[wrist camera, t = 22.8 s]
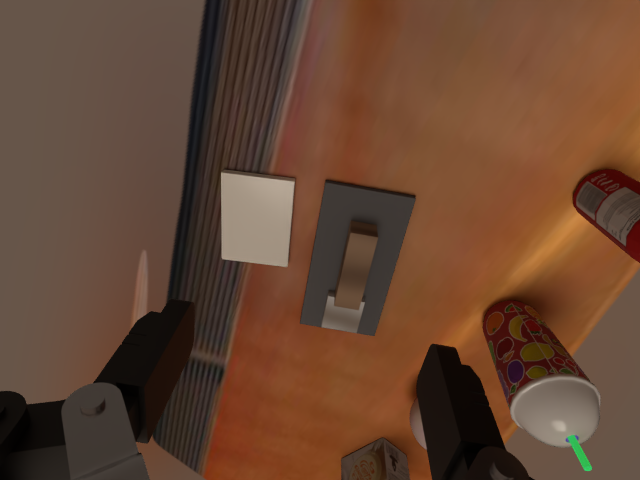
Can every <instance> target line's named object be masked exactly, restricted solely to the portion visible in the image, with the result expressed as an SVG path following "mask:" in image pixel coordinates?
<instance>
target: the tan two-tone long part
mask: <svg viewBox="0 0 640 480" xmlns="http://www.w3.org/2000/svg"><path fill="white" fill-rule="evenodd" d="M377 241H378V232H377V225H373V224H367V223H362V222H356V221H350V226H349V230H348V235H347V239H346V244H345V248H344V253H343V257H342V261H341V266H340V270H339V275H338V279H337V284H336V288H335V291H330V290H328V295H327V300H326V304H325V309H324V314H323V318H322V326H321V327H324V328H330V329H336V330H342V331H348V332H354V333H357V330H358V326H359V322H360V319H361V315H362V311H363V308H364V304H365V296H363V293H364V289H365V286H366V282H367V278H368V274H369V271H370V267H371V263H372V259H373V256H374V252H375V248H376V244H377Z"/></svg>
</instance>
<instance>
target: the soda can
mask: <svg viewBox="0 0 640 480" xmlns="http://www.w3.org/2000/svg"><path fill="white" fill-rule="evenodd" d="M573 205H574V207H575V208H576V210H577V212H578V213H579V214H581V215H582V216H583V217H584V218H585V219H586V220H588V221H589V222H590V223H591V224H592V225H594V226H595V227H596V228H597V229H598V230H600V231H601V232H602V233H603V234H604V235H606V236H607V237H608V238H609V239H610V240H612V241H613V242H614V243H615V244H616V245H618V246H619V247H620V248H621V249H622V250H624V251H625V252H626V253H627V254H628V255H630V256H631V257H632V258H633V259H635V260H636V261H638V262H639V263H640V182H638V181H636V180H634V179H633V178H631V177H629V176H627V175H625V174H624V173H622V172H620V171H617V170H613V169H605V170H600V171H597V172H595V173H592V174H591V175H589V176H588V177H586V178H585V179H584V180H583V181H582V182H581V183H580V184H579V186H578V188H577V189H576V191H575V193H574V195H573Z"/></svg>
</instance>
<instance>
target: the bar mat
mask: <svg viewBox="0 0 640 480" xmlns="http://www.w3.org/2000/svg"><path fill="white" fill-rule="evenodd" d="M415 199H416V198H415V196H413V195H407V194H401V193H396V192H390V191H385V190H379V189H373V188H368V187H362V186H357V185H351V184H345V183H340V182H334V181H329V180H326V182H325V188H324V193H323V199H322V204H321V210H320V215H319V221H318V226H317V232H316V237H315V243H314V248H313V254H312V259H311V265H310V270H309V276H308V281H307V287H306V292H305V298H304V304H303V309H302V315H301V320H300V324H306V325H312V326H317V327H321V326H322V318H323V314H324V309H325V304H326V300H327V295H328V290H330V291H335V288H336V284H337V279H338V275H339V270H340V266H341V261H342V257H343V253H344V248H345V244H346V239H347V235H348V230H349V226H350V221H356V222H362V223H367V224H373V225H377V232H378V241H377V244H376V248H375V252H374V256H373V259H372V263H371V267H370V271H369V274H368V278H367V282H366V286H365V289H364V293H363V296H365V304H364V308H363V311H362V315H361V319H360V322H359V326H358V330H357V333H359V334H365V335H371V336H374V335H375V332H376V329H377V325H378V322H379V319H380V316H381V312H382V309H383V306H384V302H385V299H386V296H387V292H388V289H389V286H390V282H391V279H392V276H393V272H394V269H395V266H396V262H397V259H398V256H399V252H400V249H401V246H402V243H403V239H404V236H405V233H406V229H407V226H408V223H409V219H410V216H411V213H412V209H413V206H414V203H415ZM323 328H324V327H323ZM329 329H330V328H329ZM335 330H336V329H335ZM341 331H342V330H341ZM347 332H348V331H347ZM353 333H354V332H353Z"/></svg>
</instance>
